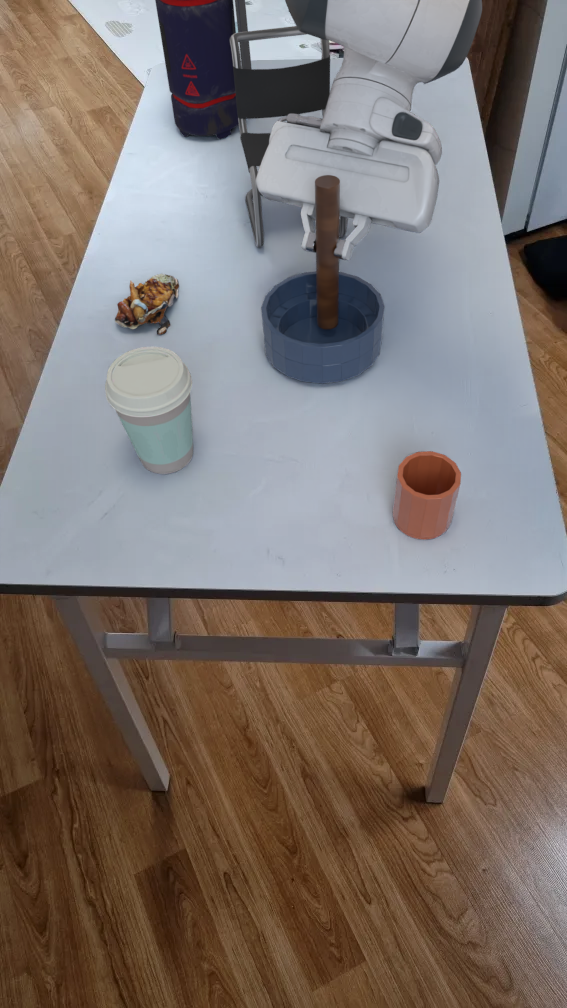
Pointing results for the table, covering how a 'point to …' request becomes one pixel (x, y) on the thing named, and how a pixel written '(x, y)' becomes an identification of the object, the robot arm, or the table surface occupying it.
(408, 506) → the crock
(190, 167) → the table surface
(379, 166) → the robot arm
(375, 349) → the bowl
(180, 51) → the navy blue cylinder
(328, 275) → the brown wooden rod
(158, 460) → the coffee cup
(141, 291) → the loaded food tray
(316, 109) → the chair
